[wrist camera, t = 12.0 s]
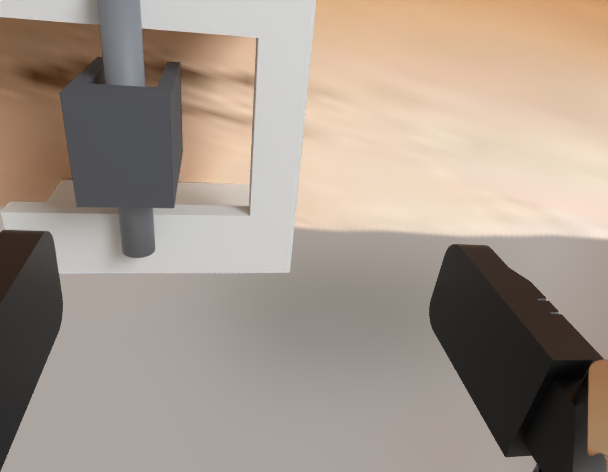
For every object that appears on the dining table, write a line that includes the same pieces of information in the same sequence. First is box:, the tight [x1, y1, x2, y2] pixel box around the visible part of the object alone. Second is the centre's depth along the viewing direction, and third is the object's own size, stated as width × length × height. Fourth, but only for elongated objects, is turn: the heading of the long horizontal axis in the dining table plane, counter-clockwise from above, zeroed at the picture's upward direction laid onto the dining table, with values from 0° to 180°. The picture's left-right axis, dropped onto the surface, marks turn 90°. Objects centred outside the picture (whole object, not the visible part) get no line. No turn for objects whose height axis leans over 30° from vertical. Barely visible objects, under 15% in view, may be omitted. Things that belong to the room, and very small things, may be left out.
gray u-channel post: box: [60, 57, 183, 208], centre depth 29 cm, size 6×5×9 cm
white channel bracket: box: [0, 0, 316, 274], centre depth 33 cm, size 20×18×14 cm
